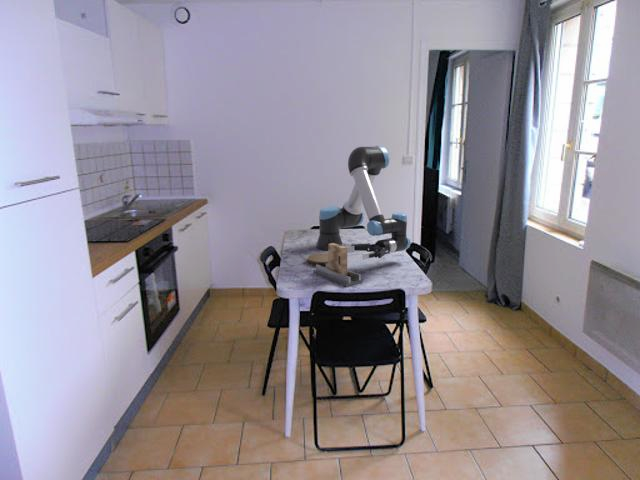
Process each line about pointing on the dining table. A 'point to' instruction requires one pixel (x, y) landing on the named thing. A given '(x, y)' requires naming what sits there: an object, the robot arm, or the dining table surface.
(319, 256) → the wood log slice
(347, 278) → the track
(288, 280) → the dining table surface
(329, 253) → the door
